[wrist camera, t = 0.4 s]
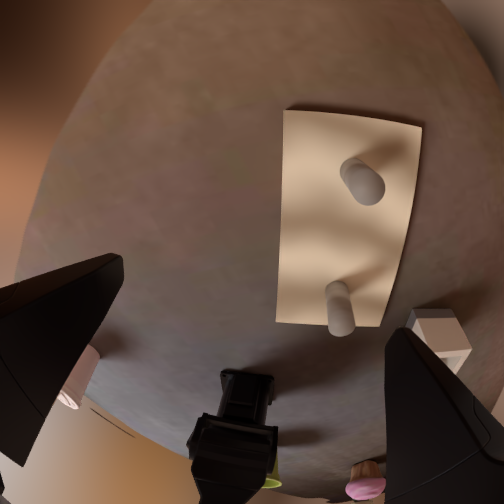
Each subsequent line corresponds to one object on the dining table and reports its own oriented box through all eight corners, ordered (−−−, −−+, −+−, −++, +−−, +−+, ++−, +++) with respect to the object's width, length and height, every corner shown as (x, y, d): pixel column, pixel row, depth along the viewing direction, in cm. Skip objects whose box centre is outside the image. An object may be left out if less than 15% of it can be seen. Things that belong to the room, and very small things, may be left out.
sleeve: (434, 342, 25) (449, 382, 20) (397, 343, 26) (409, 387, 21) (450, 308, 23) (472, 348, 18) (412, 308, 24) (430, 352, 18)
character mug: (375, 484, 55) (375, 518, 44) (353, 488, 58) (352, 521, 47) (370, 478, 52) (370, 516, 40) (346, 483, 54) (344, 520, 43)
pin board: (377, 319, 25) (388, 362, 20) (276, 314, 26) (270, 358, 21) (416, 126, 16) (452, 134, 11) (284, 110, 18) (279, 108, 13)
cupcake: (369, 454, 42) (370, 495, 33) (391, 458, 43) (394, 494, 34) (338, 466, 46) (337, 503, 37) (362, 469, 47) (362, 503, 38)
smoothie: (92, 337, 34) (42, 408, 22) (114, 367, 37) (74, 436, 24) (68, 335, 36) (22, 397, 23) (89, 363, 38) (50, 424, 26)
